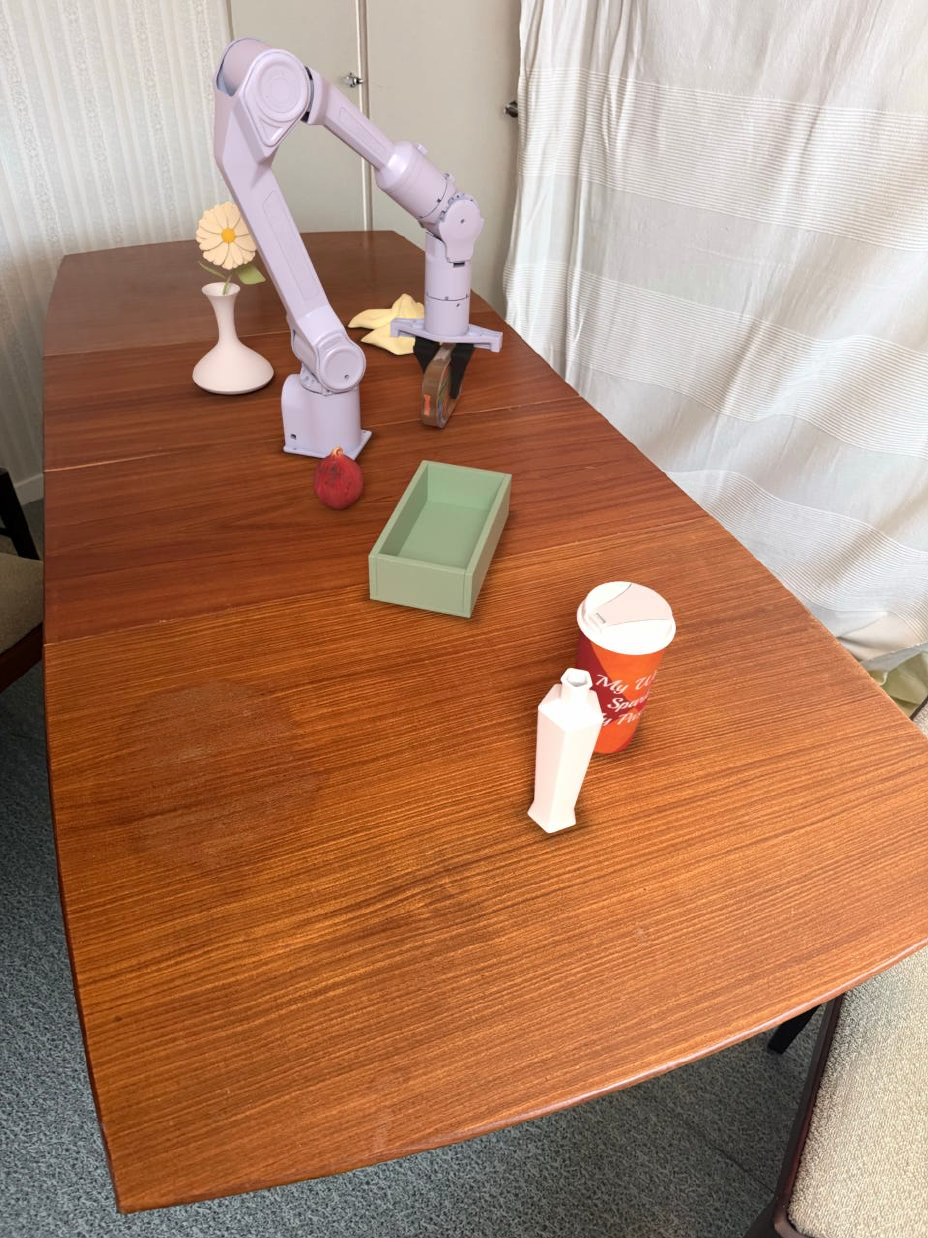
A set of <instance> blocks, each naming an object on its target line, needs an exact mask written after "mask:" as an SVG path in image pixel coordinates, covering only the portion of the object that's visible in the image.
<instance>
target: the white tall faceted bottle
mask: <svg viewBox="0 0 928 1238" xmlns="http://www.w3.org/2000/svg"><path fill="white" fill-rule="evenodd" d="M560 682H561V683H555V684H554V685H553V686H552V688H550V690H549V691H548V692H547V694H546V695H545V696H544V697H543V699H542V701H541V702H540V703H539V704H538V706H537V721H536V723H537V724H536V748H535V772H534V773H535V774H534V798H533V799H534V800H533V801H532V803H531V804H530V807H529V808H528V810H527V813H526V814H527V815H528V816H529V818H530V819H532V820H533V821H534V822H535V823H536V824H537V825H538V826H540V827H541V828H542V829H543V830H544V831H545V832H546V833H548V834H551V833H555V832H557V831H560V830H563V829H566V828H569V827H572V826H575V825H576V823H577V821H576V813H575V806H576V803H577V801H578V797H579V794H580V791H581V789H582V786H583V782H584V780H585V777H586V774H587V771H588V767H589V766H590V762H591V758H592V755H593V752H594V751H593V750H594V747H595V744H596V741H597V738H598V735H599V732H600V729H601V726H602V723H603V715H602V712H601V708H600V705H599V701H598V698H597V694H596V692H595V691H593V690H589V688H590V687H591V686H592V681H591V677H590V674H589V672H587V671H584V670H578V669H575V668H572V667H569V668H567V669H566V671H565V672H564V673H563V675H562V676H561V677H560Z"/></svg>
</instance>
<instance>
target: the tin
mask: <svg viewBox="0 0 928 1238" xmlns="http://www.w3.org/2000/svg"><path fill="white" fill-rule="evenodd" d="M455 346H456V344H451V343H442V345H441V346H440V345H439V349H438V351H437V352H436V354H435V355H434V357H433V358H432V360H431V361H430V363H429V364H428V366H427V368H426V371H425V374H423V377H422V382H421V387H420V397H421V400H420V407H421V408H420V420H421V422H422V424H424V425H425V426H426V425H427V426H431V427H436V428H440V429H443V428H444V427H445V425H446V424H447V422H448V420H449V418H450V417H451V415H452V413H453V411H454V410H455V408H456V406H457V404H458V402H459V400H460V398H461V394H462V391H463V388H464V387H463V386H464V380H465V375H466V371H465V372H464V375H463V378H462V381H461V385H460V391H459V394H458V396H457V398H456V399H451V396H450V392H451V381H452V366H451V352H452V350H453V349H454V347H455Z"/></svg>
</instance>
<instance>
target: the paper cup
mask: <svg viewBox="0 0 928 1238" xmlns="http://www.w3.org/2000/svg"><path fill="white" fill-rule="evenodd" d="M576 621H577V625H578V627H579V629H578V636H577V637H578V638H577V647H576V657H575V666H574V669H578V670H584V671H587V672H589V674H590V677H591V681H592V686H591V687H590V688H589V690H593V691H595V692H596V694H597V698H598V701H599V705H600V708H601V712H602V715H603V723H602V726H601V729H600V732H599V735H598V738H597V741H596V744H595V747H594V750H593V752H595V753H597V754H598V753H599V754H613V753H615V754H616V753H618V752H620V751H623V750H624V749H626V748H627V747H628V746H629V745H630V743H631V742H632V741H633V738H634V736H635V733H636V731H637V728H638V726H639V723H640V720H641V717H642V714H643V712H644V710H645V707H646V703H647V701H648V698H649V695H650V693H651V690H652V687H653V684H654V681H655V679H656V676H657V673H658V670H659V667H660V665H661V662H662V659H663V656H664V653H665V652H666V649H667V646H668V645H669V644H670V643H672V641H673V639H674V637H675V634H676V628H677V627H676V621H675V619H674V616H673V611H672V607H671V606H670V604H669V603H668V601H667V600H666V599H665V598H664V597H663V596H662V595H660V594H659V593H658V592H657V591H655V590H654V589H652V588H649V587H648V586H645V585H641V584H638V583H635V582H630V581H611V582H606V583H602V584H600V585H598V586H596V587H594V588H593V589H592V590H591V591H589V593H588V594H587V595H586V597H585V598H584V600H582V602H581V603H580V604H579V606H578V608H577V611H576Z"/></svg>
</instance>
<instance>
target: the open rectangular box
mask: <svg viewBox="0 0 928 1238" xmlns="http://www.w3.org/2000/svg"><path fill="white" fill-rule="evenodd" d="M512 478H513V474H510V473H505V472H499V471H494V470H487V469H481V468H480V469H479V468H476V467H469V466H464V465H463V466H462V465H457V464H450V463H444V462H438V461H432V460H426V459H423V460H422V461H421V463H420V464H419V466H418V468H417V470H416V471H415V473H414V475H413V476H412V478H411V480H410V482H409V484H408V485H407V487H406V489H405V491H404V493H403V495H402V496H401V498H400V500H399V501H398V503H397V505H396V506H395V508H394V511H393V512H392V514H391V515H390V518H389V519H388V521H387V523H386V524H385V526H384V528H383V530H382V531H381V533H380V535H379V537H378V538H377V540H376V542H375V543H374V545H373V547H372V549H371V550H370V552H369V554H368V557H367V559H368V578H369V579H368V583H369V599H370V600H375V601H378V602H384V603H390V604H395V605H399V606H405V607H410V608H415V609H420V610H425V611H432V612H435V613H442V614H447V615H450V616H457V617H461V618H466V619H467V618H468V619H470V618H471V616H472V613H473V611H474V607H475V605H476V603H477V600H478V598H479V594H480V592H481V589H482V586H483V584H484V581H485V578H486V576H487V574H488V570H489V568H490V565H491V562H492V560H493V557H494V554H495V552H496V550H497V546H498V543H499V541H500V538H501V536H502V532H503V530H504V528H505V525H506V522H507V520H508V517H509V515H510V514H509V513H510V512H509V511H510V501H511V491H512V480H513V479H512Z"/></svg>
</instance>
